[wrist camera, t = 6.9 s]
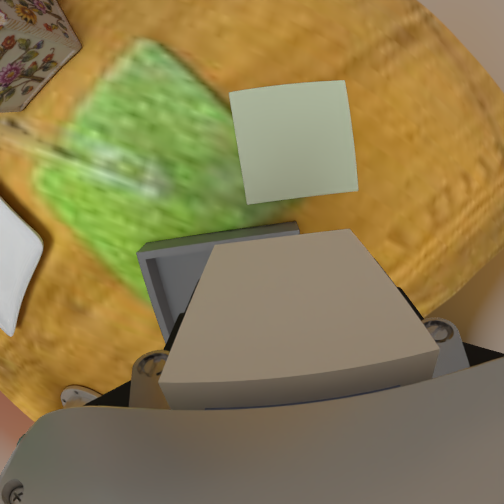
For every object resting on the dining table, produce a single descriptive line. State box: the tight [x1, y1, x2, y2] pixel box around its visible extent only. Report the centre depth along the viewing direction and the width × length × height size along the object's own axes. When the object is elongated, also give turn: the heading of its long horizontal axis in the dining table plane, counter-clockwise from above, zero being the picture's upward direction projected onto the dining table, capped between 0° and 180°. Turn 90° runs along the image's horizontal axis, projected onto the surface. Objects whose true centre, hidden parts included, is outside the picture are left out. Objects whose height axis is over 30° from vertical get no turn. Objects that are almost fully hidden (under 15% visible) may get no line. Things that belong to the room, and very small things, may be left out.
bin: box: [136, 221, 300, 343], centre depth 33 cm, size 16×16×3 cm
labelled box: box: [158, 229, 440, 410], centre depth 9 cm, size 5×5×7 cm
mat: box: [229, 80, 358, 205], centre depth 28 cm, size 11×11×1 cm
